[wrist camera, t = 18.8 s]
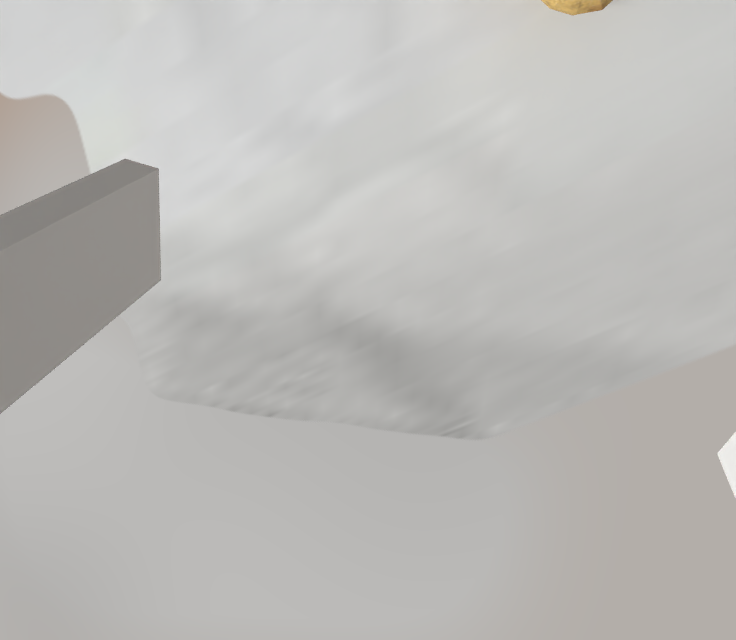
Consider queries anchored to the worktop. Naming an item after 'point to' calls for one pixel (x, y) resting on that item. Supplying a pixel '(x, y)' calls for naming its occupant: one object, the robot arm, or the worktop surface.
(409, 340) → the worktop surface
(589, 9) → the potato
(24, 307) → the robot arm
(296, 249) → the worktop surface
